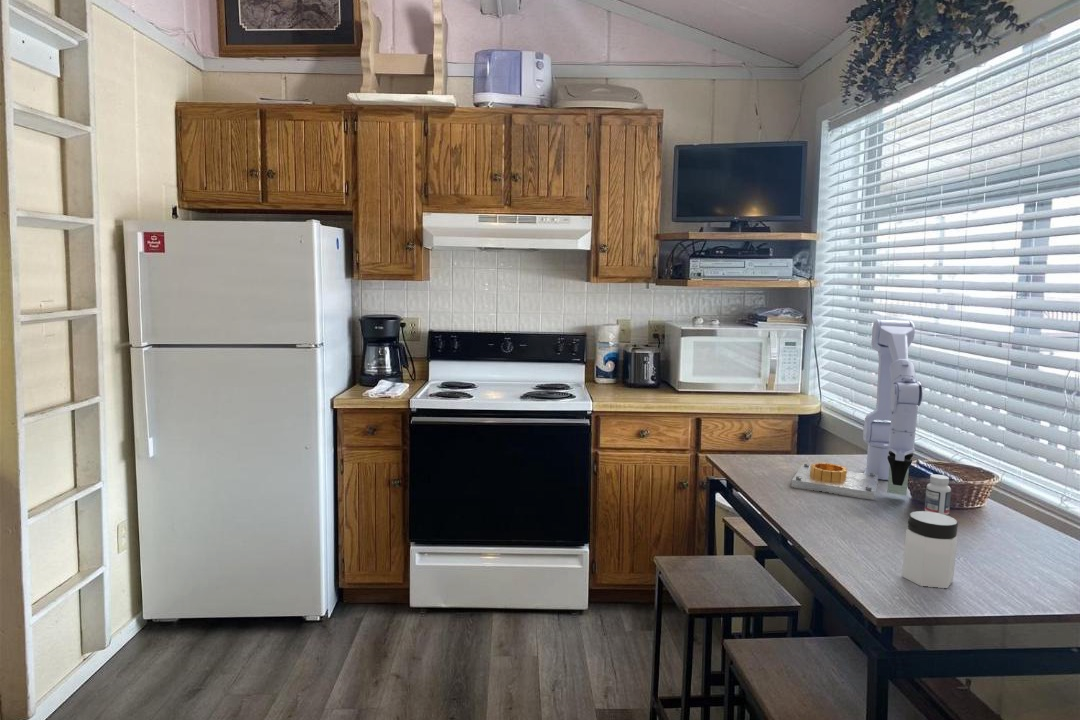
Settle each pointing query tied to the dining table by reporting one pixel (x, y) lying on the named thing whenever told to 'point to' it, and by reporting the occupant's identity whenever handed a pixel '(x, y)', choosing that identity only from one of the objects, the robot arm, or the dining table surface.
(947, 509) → the pill bottle
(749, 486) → the dining table surface
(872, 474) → the bolted plate with ring
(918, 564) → the jar
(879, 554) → the dining table surface
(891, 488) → the mint green square pillar
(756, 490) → the dining table surface
